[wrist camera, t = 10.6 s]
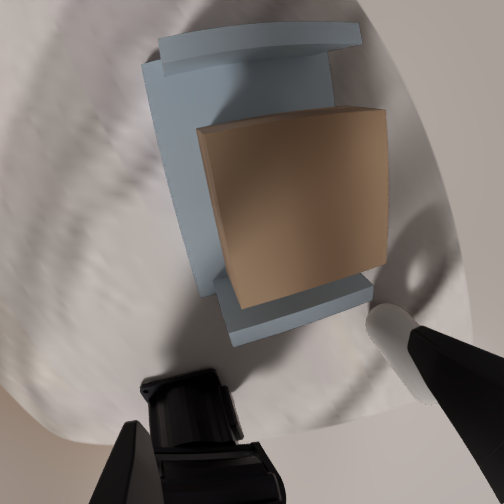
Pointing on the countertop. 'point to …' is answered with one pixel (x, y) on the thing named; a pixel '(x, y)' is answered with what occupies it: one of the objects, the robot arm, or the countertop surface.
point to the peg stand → (235, 108)
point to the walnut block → (298, 197)
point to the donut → (397, 346)
